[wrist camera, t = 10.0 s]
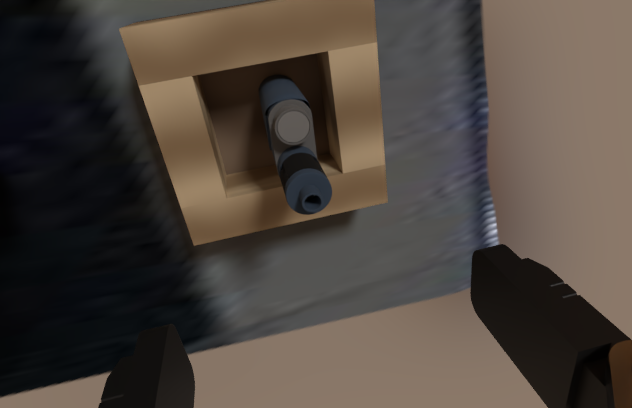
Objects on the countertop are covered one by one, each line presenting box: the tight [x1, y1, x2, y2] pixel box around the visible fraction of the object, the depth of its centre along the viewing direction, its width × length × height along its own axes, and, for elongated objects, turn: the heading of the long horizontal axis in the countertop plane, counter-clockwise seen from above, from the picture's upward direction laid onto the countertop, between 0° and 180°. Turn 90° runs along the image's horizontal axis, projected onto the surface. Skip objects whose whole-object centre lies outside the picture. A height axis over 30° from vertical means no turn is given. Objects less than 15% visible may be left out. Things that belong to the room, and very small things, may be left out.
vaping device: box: [259, 75, 332, 215], centre depth 24 cm, size 3×5×12 cm, turn 7°
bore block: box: [119, 0, 388, 246], centre depth 28 cm, size 14×14×5 cm
